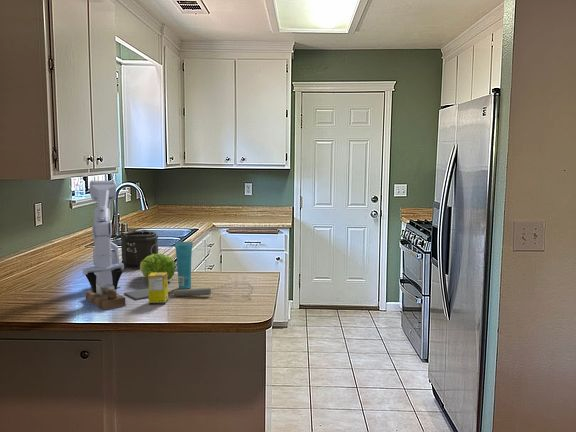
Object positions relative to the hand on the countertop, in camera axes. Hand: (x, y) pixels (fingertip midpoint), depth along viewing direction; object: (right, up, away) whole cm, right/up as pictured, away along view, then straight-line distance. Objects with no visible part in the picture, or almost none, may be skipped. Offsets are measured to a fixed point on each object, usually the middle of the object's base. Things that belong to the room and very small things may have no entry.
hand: (104, 290), depth 193 cm
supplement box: (+20, -5, 0) cm, 20 cm away
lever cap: (0, -1, 0) cm, 1 cm away
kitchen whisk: (+38, -4, +8) cm, 39 cm away
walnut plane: (0, -4, +1) cm, 4 cm away
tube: (+25, -2, +22) cm, 33 cm away
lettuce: (+10, -1, +36) cm, 37 cm away
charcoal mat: (+11, -3, +11) cm, 16 cm away
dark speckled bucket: (-6, +3, +67) cm, 67 cm away
